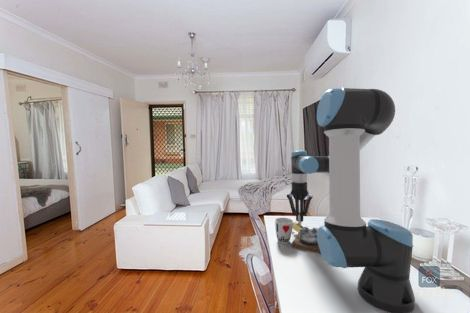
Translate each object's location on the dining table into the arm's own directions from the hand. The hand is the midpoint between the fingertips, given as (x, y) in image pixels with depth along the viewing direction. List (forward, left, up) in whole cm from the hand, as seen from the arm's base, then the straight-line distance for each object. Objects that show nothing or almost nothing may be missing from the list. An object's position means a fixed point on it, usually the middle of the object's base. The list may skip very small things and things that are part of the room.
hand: (299, 227), depth 122 cm
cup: (-13, +5, -3) cm, 14 cm away
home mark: (0, +4, -3) cm, 6 cm away
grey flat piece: (-7, -4, -1) cm, 8 cm away
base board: (-10, -7, -3) cm, 13 cm away
